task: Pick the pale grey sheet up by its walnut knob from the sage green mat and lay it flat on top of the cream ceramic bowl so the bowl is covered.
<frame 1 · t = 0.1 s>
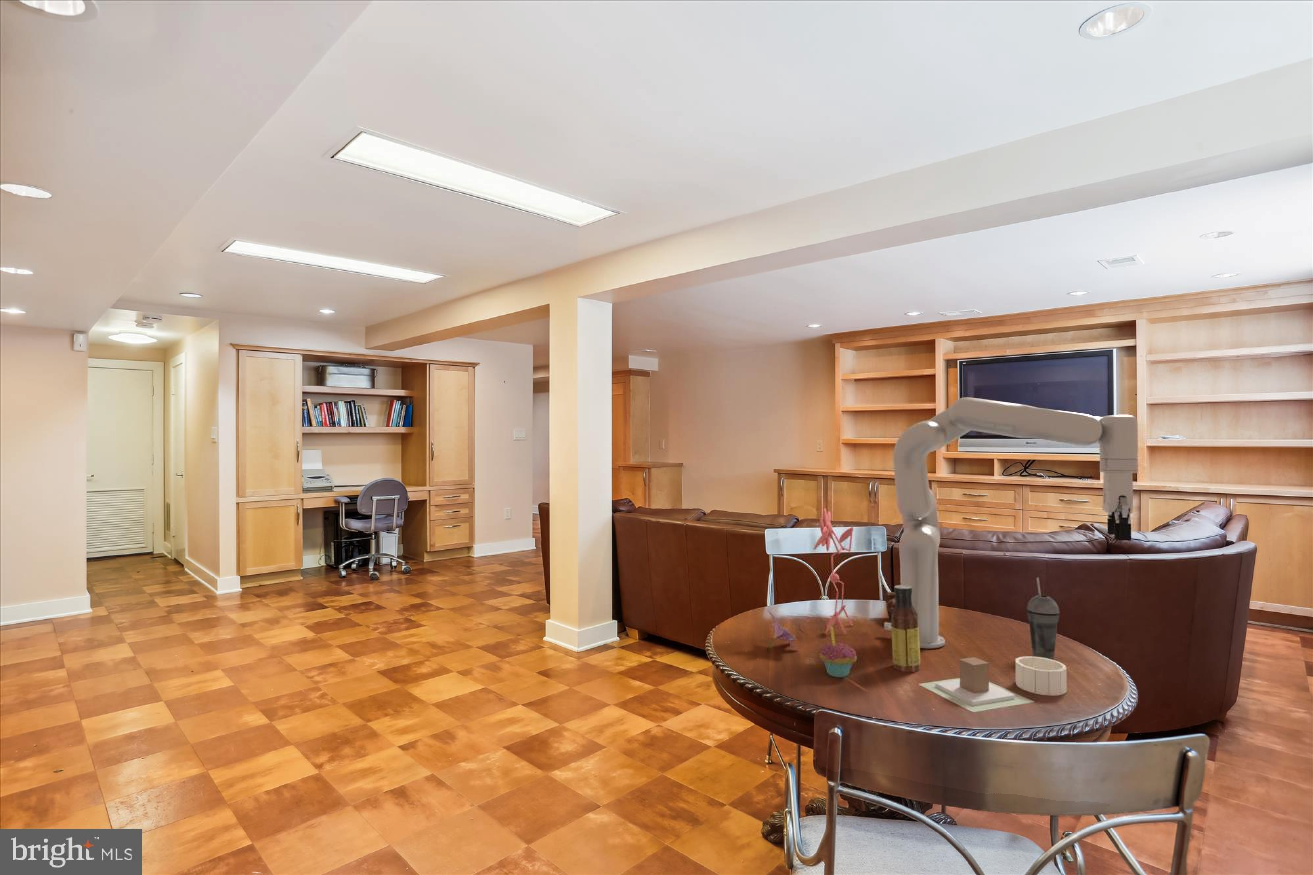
hand: (1119, 537, 159), 31 cm above the table, tool pointing down, fingers open, 9 cm apart
lily: (781, 649, 174), on the table
sauce bottle: (905, 670, 158), on the table
decorative turtle: (904, 622, 199), on the table
beverage cup: (1043, 658, 166), on the table
bowl: (1040, 688, 145), on the table
mat: (974, 694, 142), on the table
figurine: (825, 627, 193), on the table
cupcake: (837, 674, 155), on the table
sheet: (974, 692, 142), resting on mat
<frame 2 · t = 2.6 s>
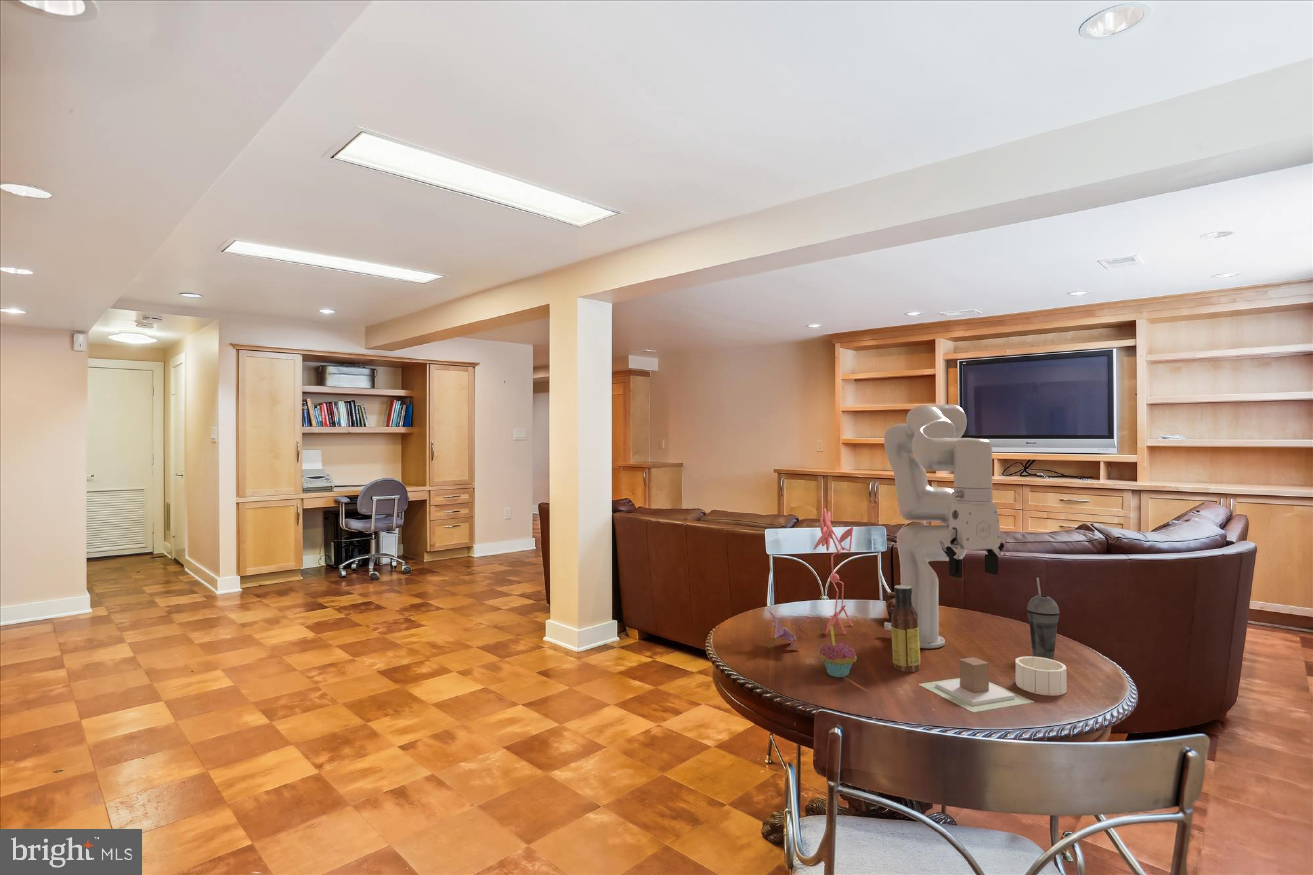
hand: (973, 575, 142), 26 cm above the table, tool pointing down, fingers open, 9 cm apart
nothing on the table moved.
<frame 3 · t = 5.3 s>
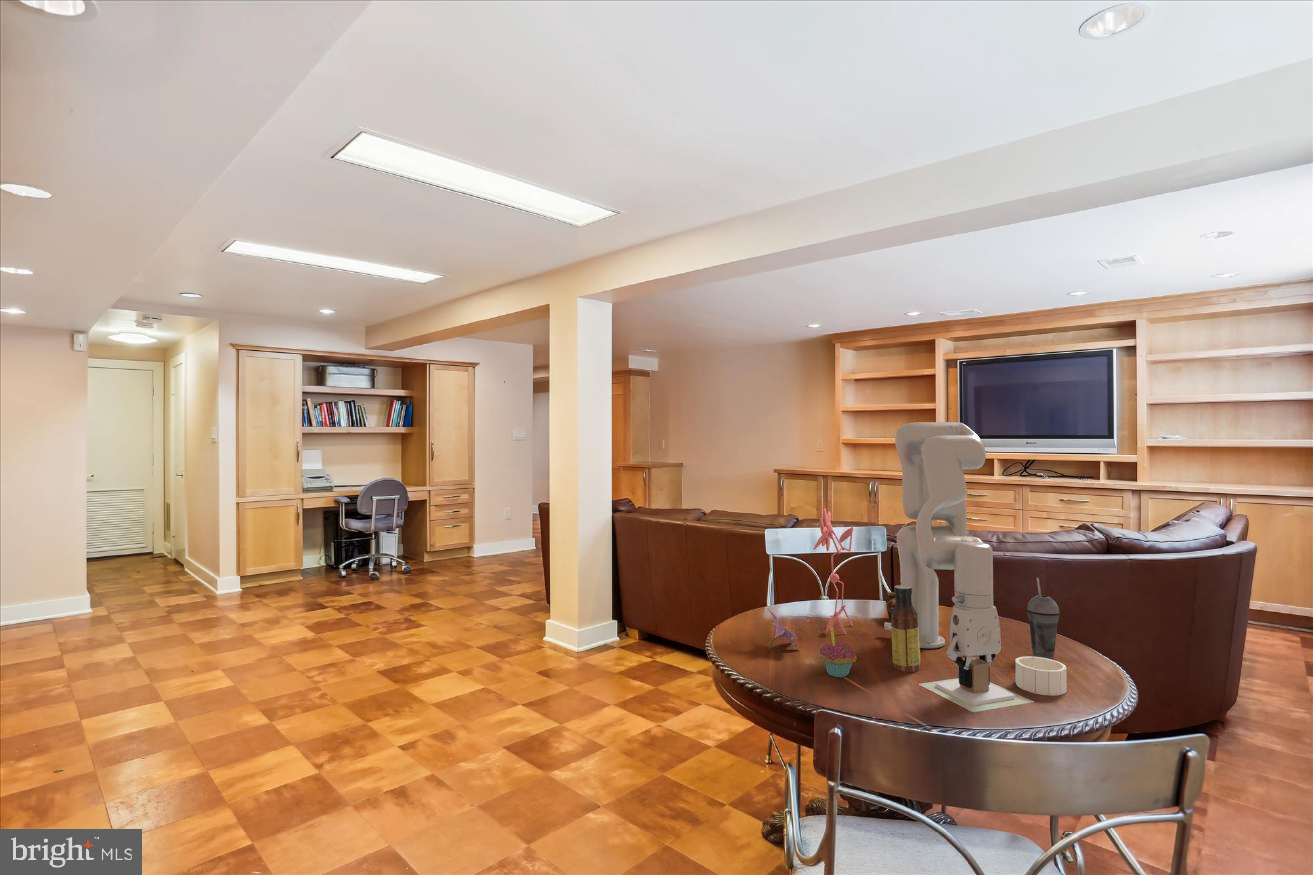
hand: (974, 683, 142), 2 cm above the table, tool pointing down, fingers closed on sheet, 4 cm apart
sheet: (974, 692, 142), resting on mat, touching gripper
everything else where it was.
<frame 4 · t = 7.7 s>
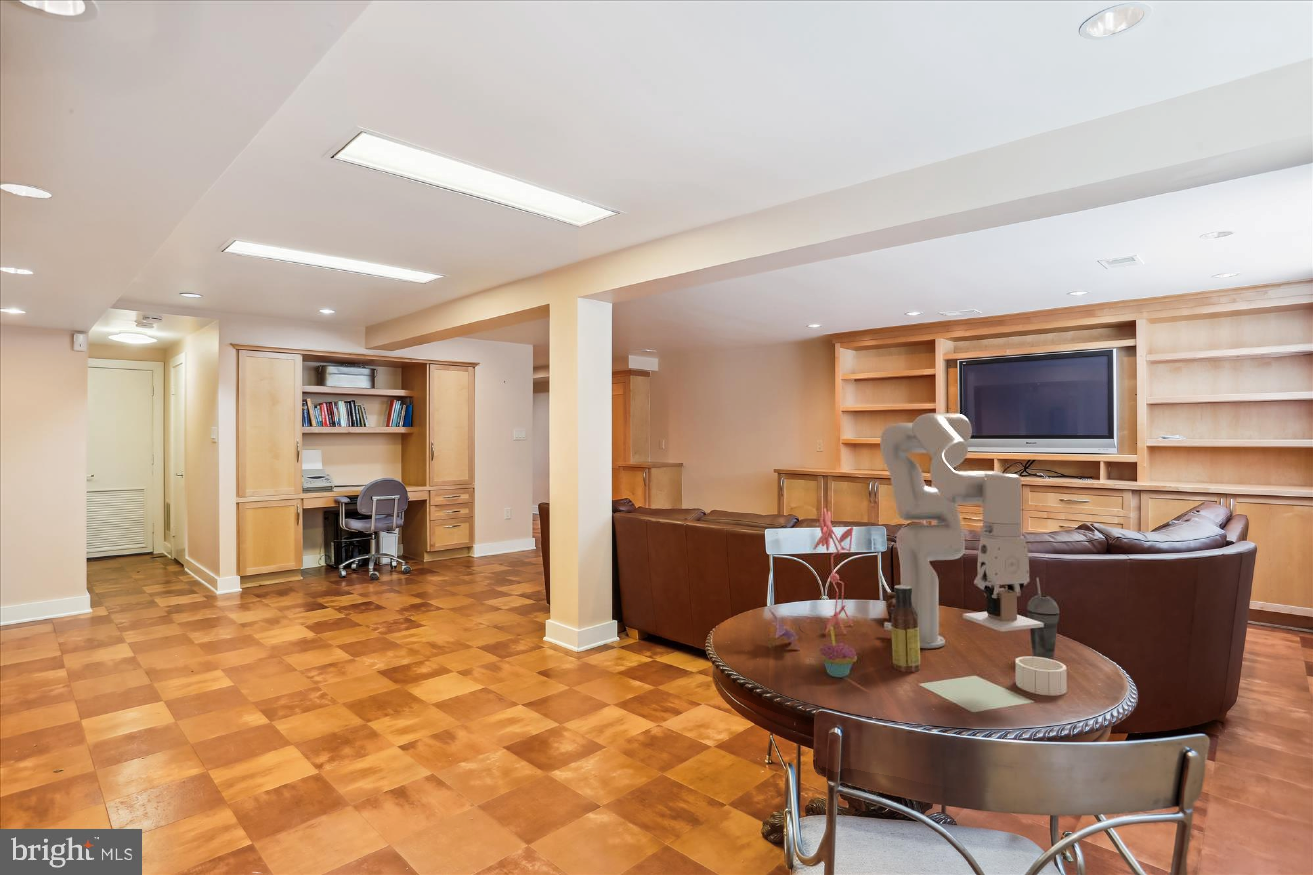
hand: (1002, 613, 144), 17 cm above the table, tool pointing down, fingers closed on sheet, 4 cm apart
sheet: (1002, 622, 144), point 15 cm above the table, touching gripper
everything else where it was.
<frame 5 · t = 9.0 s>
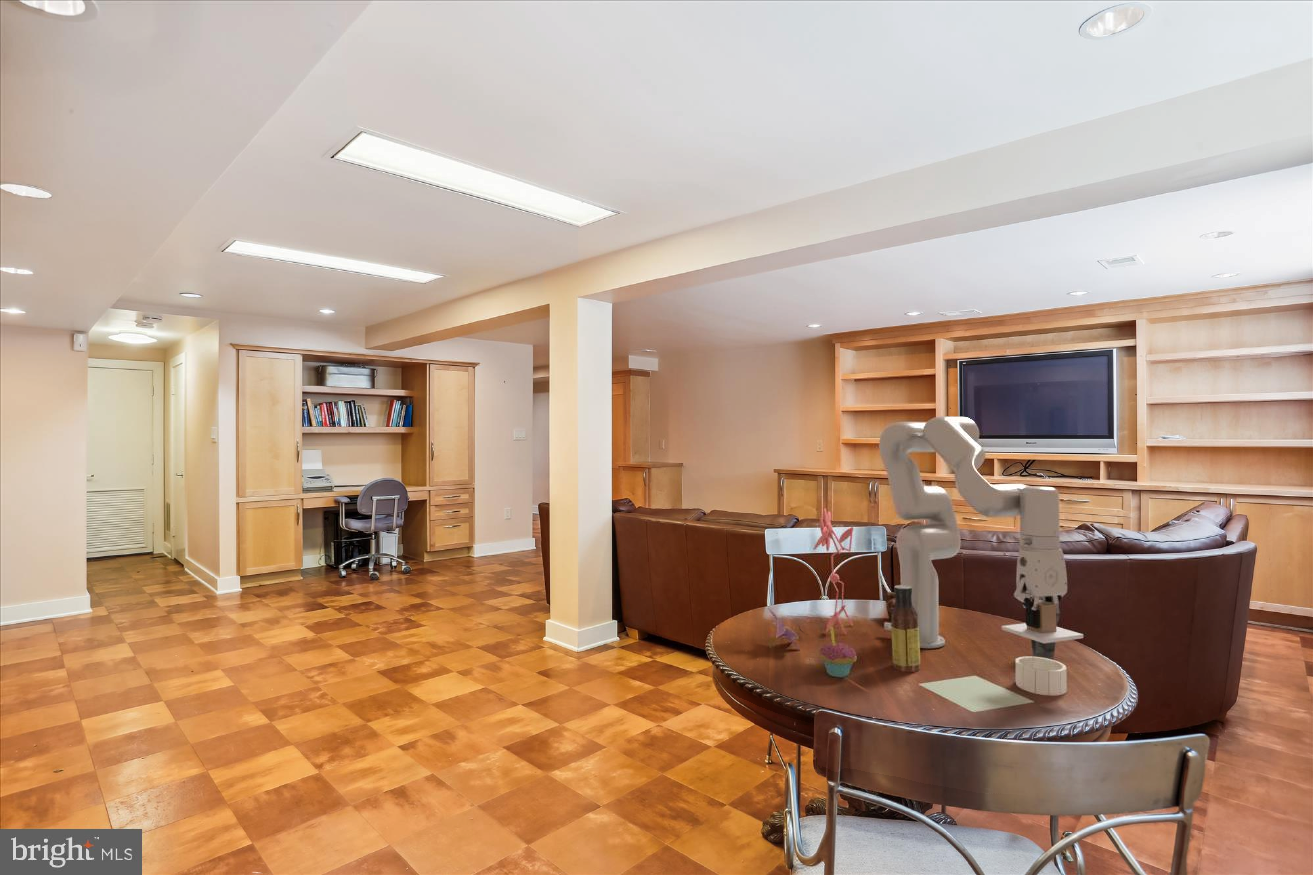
hand: (1041, 624, 145), 14 cm above the table, tool pointing down, fingers closed on sheet, 4 cm apart
sheet: (1041, 633, 145), point 12 cm above the table, touching gripper
when the fingers open (9 cm above the table, at t = 10.1 s): sheet drops 2 cm, resting on bowl.
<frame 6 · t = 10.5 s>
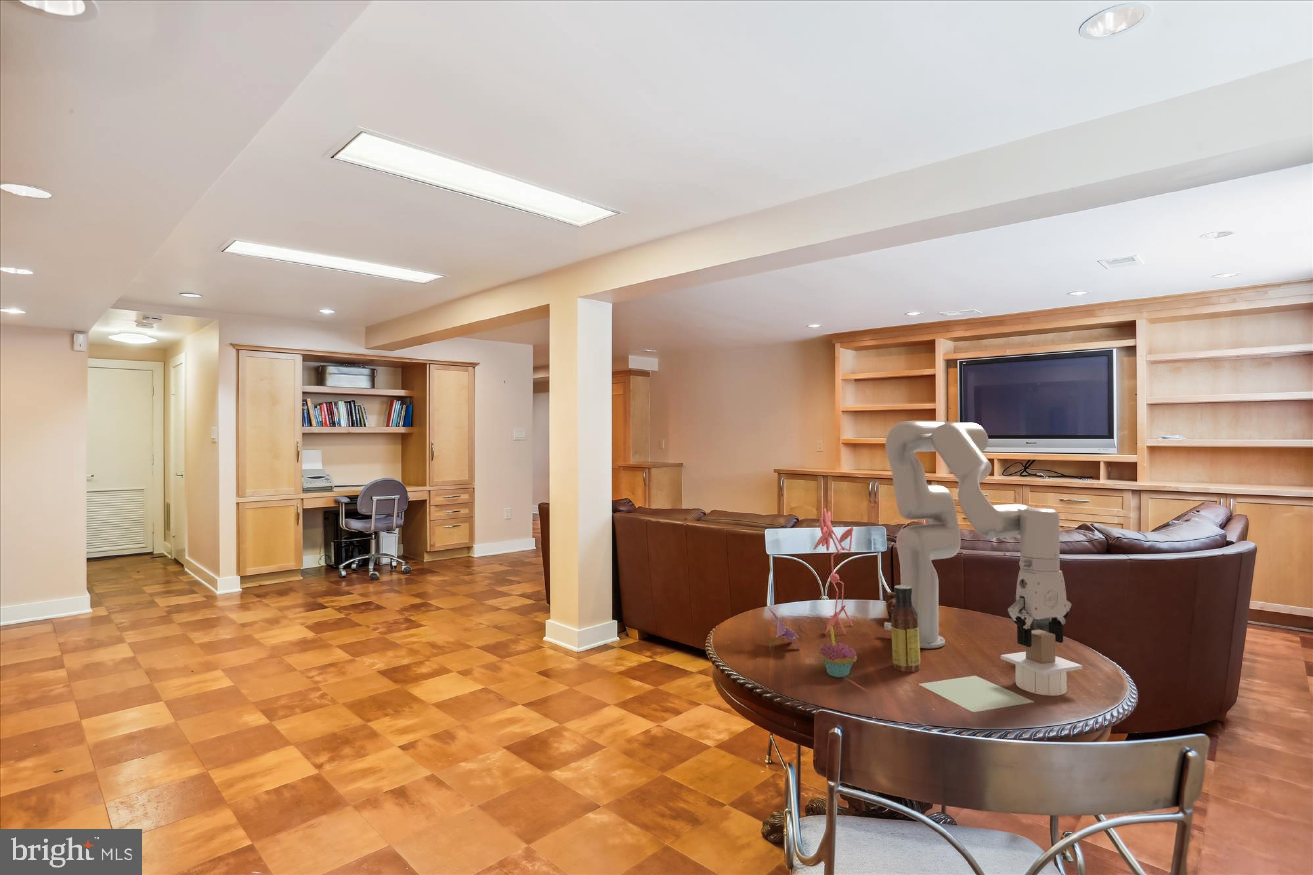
hand: (1040, 642, 145), 10 cm above the table, tool pointing down, fingers open, 8 cm apart
sheet: (1040, 663, 145), point 5 cm above the table, touching bowl
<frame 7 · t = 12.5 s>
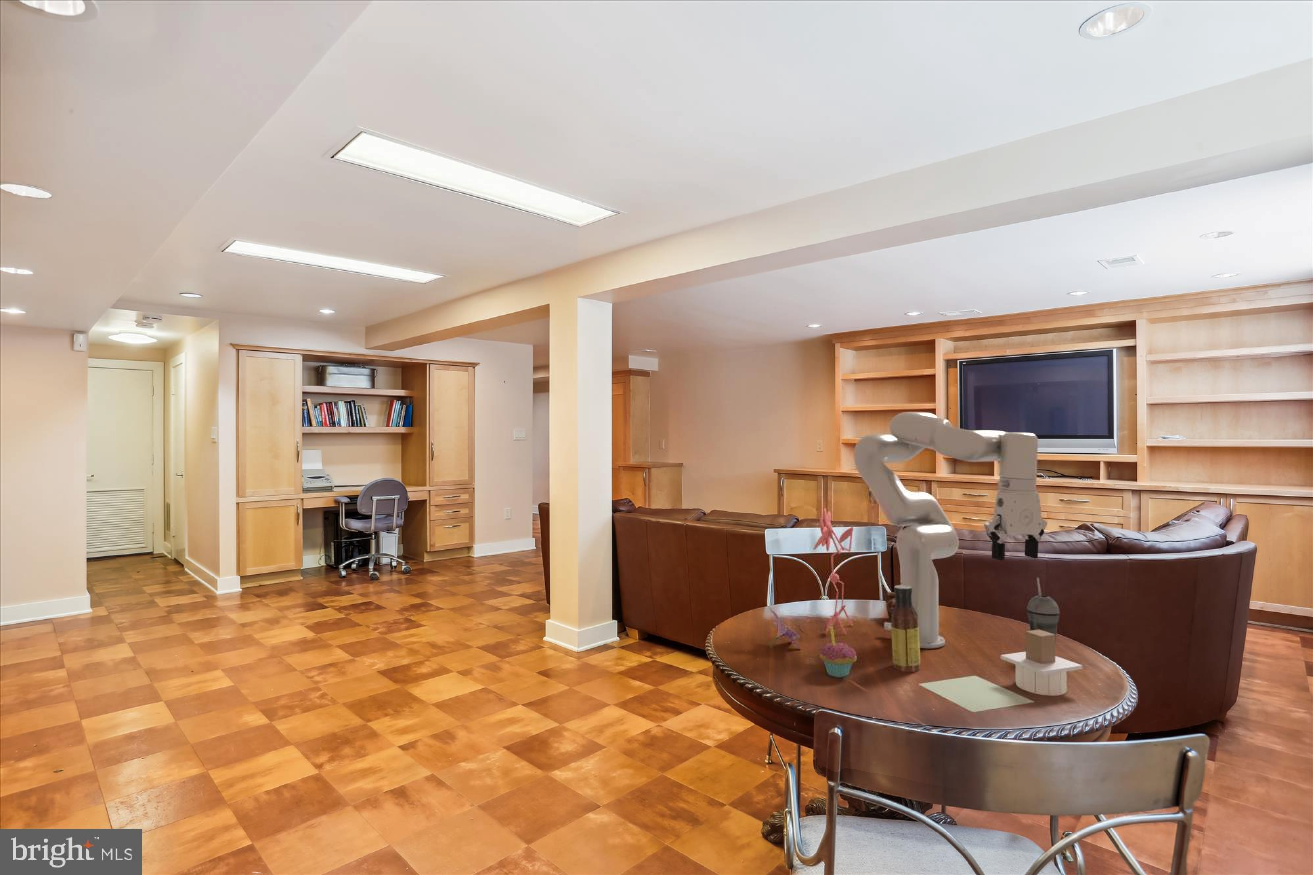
hand: (1014, 558, 154), 27 cm above the table, tool pointing down, fingers open, 9 cm apart
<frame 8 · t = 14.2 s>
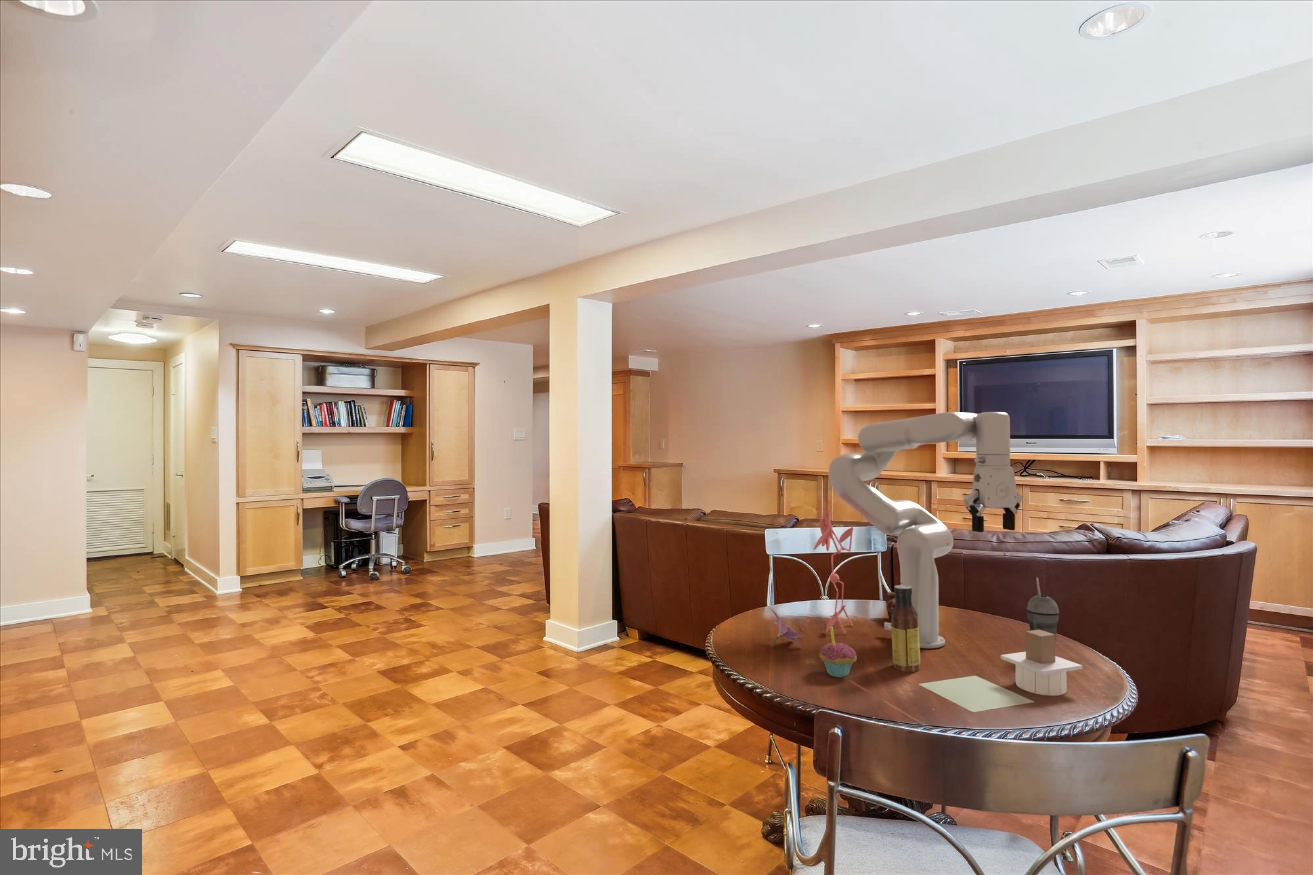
hand: (993, 530, 164), 32 cm above the table, tool pointing down, fingers open, 9 cm apart
at the end: sheet 0.0 cm from the bowl (horizontally); sheet point 5.5 cm above the table; sheet tilted 0° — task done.
